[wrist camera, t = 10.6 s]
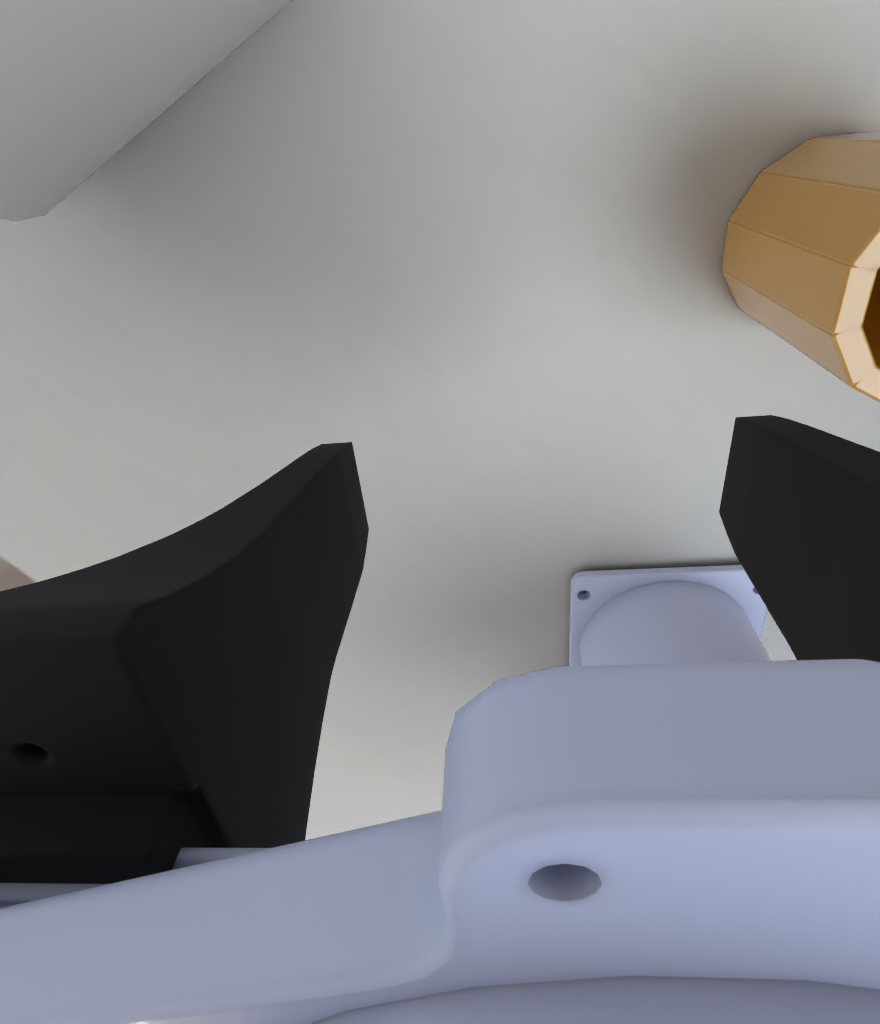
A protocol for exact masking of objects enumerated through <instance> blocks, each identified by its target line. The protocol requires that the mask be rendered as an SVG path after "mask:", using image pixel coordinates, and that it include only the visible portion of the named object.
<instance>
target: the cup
mask: <svg viewBox="0 0 880 1024" xmlns="http://www.w3.org/2000/svg"><path fill="white" fill-rule="evenodd" d="M722 273H723V275H724V277H725V279H726V282H727V284H728V286H729V288H730V291H731V293H732V295H733V297H734V299H735V302H736V304H737V306H738V307H739V308H740V310H742V311H743V312H745V313H746V314H747V315H749V316H750V317H752V318H753V319H755V320H756V321H757V322H759V323H760V324H762V325H763V326H765V327H766V328H768V329H769V330H770V331H772V332H773V333H775V334H776V335H778V336H779V337H780V338H782V339H783V340H785V341H786V342H788V343H789V344H790V345H792V346H793V347H795V348H796V349H798V350H799V351H800V352H802V353H803V354H805V355H806V356H808V357H809V358H810V359H812V360H813V361H815V362H816V363H818V364H819V365H820V366H822V367H823V368H825V369H826V370H828V371H829V372H830V373H832V374H833V375H835V376H836V377H838V378H839V379H840V380H842V381H843V382H845V383H846V384H848V385H849V386H850V387H852V388H854V389H856V390H857V391H859V392H861V393H863V394H865V395H867V396H869V397H871V398H873V399H875V400H877V401H878V402H880V133H871V132H861V133H852V134H843V135H834V136H824V137H815V138H812V139H809V140H807V141H806V142H804V143H803V144H801V145H800V146H798V147H797V148H795V149H794V150H792V151H791V152H789V153H788V154H786V155H785V156H783V157H782V158H780V159H779V160H777V161H776V162H774V163H773V164H771V165H770V166H768V167H767V168H765V169H764V170H763V171H762V173H760V174H759V175H758V176H757V178H756V180H755V181H754V183H753V184H752V186H751V187H750V189H749V190H748V192H747V193H746V195H745V196H744V198H743V199H742V201H741V202H740V204H739V205H738V207H737V209H736V210H735V212H734V213H733V215H732V216H731V218H730V221H729V222H728V227H727V234H726V241H725V248H724V255H723V262H722Z"/></svg>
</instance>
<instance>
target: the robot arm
mask: <svg viewBox="0 0 880 1024" xmlns="http://www.w3.org/2000/svg"><path fill="white" fill-rule="evenodd" d="M719 513H720V516H721V518H722V521H723V524H724V527H725V529H726V532H727V535H728V537H729V540H730V542H731V545H732V547H733V550H734V552H735V554H736V556H737V558H738V560H739V561H740V563H741V565H723V566H698V567H674V568H649V569H625V570H600V571H582V572H578V573H576V574H574V576H573V577H572V579H571V595H570V638H569V666H559V667H554V668H550V669H545V670H540V671H535V672H531V673H526V674H521V675H517V676H512V677H507V678H503V679H500V680H498V681H496V682H495V683H494V684H492V685H491V686H490V687H488V688H487V689H486V690H484V691H483V692H482V693H480V694H479V695H478V696H476V697H475V698H474V699H472V700H471V701H470V702H468V703H467V704H466V705H464V706H463V707H462V708H460V709H459V710H458V711H456V713H455V717H454V721H453V724H452V728H451V732H450V735H449V739H448V743H447V746H446V750H445V767H444V784H443V802H442V810H441V811H436V812H432V813H427V814H423V815H418V816H413V817H409V818H404V819H400V820H395V821H391V822H386V823H382V824H377V825H373V826H368V827H364V828H359V829H355V830H350V831H346V832H341V833H337V834H332V835H328V836H323V837H319V838H314V839H310V840H305V836H306V828H307V821H308V814H309V807H310V799H311V792H312V785H313V778H314V771H315V765H316V759H317V752H318V746H319V740H320V734H321V728H322V722H323V716H324V711H325V706H326V700H327V695H328V689H329V684H330V679H331V675H332V671H333V667H334V663H335V659H336V656H337V652H338V649H339V646H340V643H341V639H342V636H343V633H344V630H345V627H346V623H347V620H348V617H349V614H350V611H351V607H352V604H353V601H354V598H355V594H356V591H357V588H358V584H359V581H360V578H361V574H362V571H363V566H364V559H365V553H366V546H367V538H368V531H369V528H368V523H367V518H366V513H365V507H364V502H363V497H362V492H361V487H360V482H359V476H358V471H357V466H356V461H355V456H354V451H353V445H352V442H348V443H333V444H321V445H319V446H317V447H315V448H313V449H311V450H310V451H308V452H307V453H305V454H304V455H302V456H301V457H299V458H298V459H296V460H295V461H293V462H292V463H290V464H289V465H288V466H286V467H285V468H283V469H282V470H280V471H279V472H278V473H276V474H275V475H273V476H272V477H270V478H269V479H267V480H266V481H265V482H263V483H262V484H260V485H259V486H257V487H255V488H254V489H252V490H251V491H249V492H247V493H246V494H244V495H243V496H241V497H240V498H238V499H236V500H235V501H233V502H232V503H230V504H228V505H227V506H225V507H224V508H222V509H220V510H218V511H217V512H215V513H213V514H211V515H209V516H208V517H206V518H204V519H202V520H200V521H198V522H196V523H194V524H192V525H190V526H188V527H186V528H184V529H182V530H180V531H178V532H176V533H174V534H172V535H170V536H167V537H165V538H163V539H160V540H158V541H155V542H153V543H150V544H148V545H146V546H143V547H141V548H138V549H136V550H133V551H131V552H128V553H126V554H124V555H121V556H119V557H116V558H113V559H110V560H107V561H104V562H101V563H99V564H96V565H93V566H90V567H87V568H84V569H81V570H77V571H74V572H71V573H68V574H64V575H61V576H58V577H54V578H51V579H47V580H44V581H40V582H37V583H33V584H29V585H25V586H21V587H17V588H13V589H9V590H4V591H1V592H0V1024H880V452H878V451H875V450H873V449H870V448H867V447H864V446H862V445H859V444H856V443H854V442H851V441H848V440H845V439H843V438H840V437H837V436H835V435H832V434H829V433H827V432H824V431H821V430H819V429H816V428H813V427H810V426H808V425H805V424H802V423H799V422H796V421H792V420H789V419H786V418H782V417H777V416H772V415H767V416H752V417H736V419H735V425H734V431H733V436H732V442H731V448H730V453H729V459H728V465H727V470H726V476H725V482H724V487H723V493H722V499H721V504H720V510H719ZM754 587H755V588H754ZM583 590H585V591H588V592H587V593H585V594H579V592H580V591H583ZM767 609H768V610H769V612H770V614H771V615H772V617H773V619H774V620H775V622H776V624H777V625H778V627H779V629H780V630H781V632H782V634H783V635H784V637H785V639H786V640H787V642H788V644H789V645H790V647H791V649H792V651H793V653H794V655H795V657H796V659H797V660H789V661H771V659H770V657H769V655H768V654H767V652H766V650H765V648H764V646H763V644H762V643H761V641H760V635H761V631H762V627H763V623H764V619H765V615H766V611H767Z"/></svg>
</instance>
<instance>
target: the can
mask: <svg viewBox="0 0 880 1024" xmlns="http://www.w3.org/2000/svg"><path fill="white" fill-rule="evenodd" d="M291 1H292V0H0V218H1V219H7V220H12V221H20V220H25V219H29V218H34V217H39V216H43V215H46V214H47V213H48V212H49V211H50V210H51V209H53V208H54V207H55V206H56V205H57V204H58V203H59V202H61V201H62V200H63V199H64V198H65V197H66V196H67V195H69V194H70V193H71V192H72V191H73V190H74V189H76V188H77V187H78V186H79V185H80V184H81V183H82V182H84V181H85V180H86V179H87V178H88V177H89V176H90V175H92V174H93V173H94V172H95V171H96V170H97V169H99V168H100V167H101V166H102V165H103V164H104V163H105V162H107V161H108V160H109V159H110V158H111V157H112V156H113V155H115V154H116V153H117V152H118V151H119V150H120V149H122V148H123V147H124V146H125V145H126V144H127V143H128V142H130V141H131V140H132V139H133V138H134V137H135V136H136V135H138V134H139V133H140V132H141V131H142V130H143V129H145V128H146V127H147V126H148V125H149V124H150V123H151V122H153V121H154V120H155V119H156V118H157V117H158V116H159V115H161V114H162V113H163V112H164V111H165V110H166V109H167V108H169V107H170V106H171V105H172V104H173V103H174V102H176V101H177V100H178V99H179V98H180V97H181V96H182V95H184V94H185V93H186V92H187V91H188V90H189V89H190V88H192V87H193V86H194V85H195V84H196V83H197V82H199V81H200V80H201V79H202V78H203V77H204V76H205V75H207V74H208V73H209V72H210V71H211V70H212V69H213V68H215V67H216V66H217V65H218V64H219V63H220V62H222V61H223V60H224V59H225V58H226V57H227V56H228V55H230V54H231V53H232V52H233V51H234V50H235V49H236V48H238V47H239V46H240V45H241V44H242V43H243V42H245V41H246V40H247V39H248V38H249V37H250V36H251V35H253V34H254V33H255V32H256V31H257V30H258V29H259V28H261V27H262V26H263V25H264V24H265V23H266V22H268V21H269V20H270V19H271V18H272V17H273V16H274V15H276V14H277V13H278V12H279V11H280V10H281V9H282V8H284V7H285V6H286V5H287V4H288V3H289V2H291Z"/></svg>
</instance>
